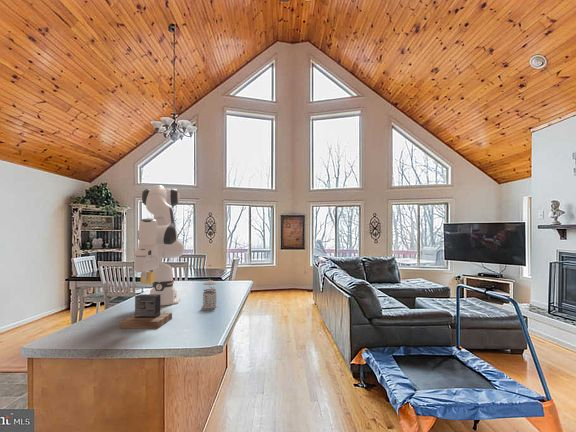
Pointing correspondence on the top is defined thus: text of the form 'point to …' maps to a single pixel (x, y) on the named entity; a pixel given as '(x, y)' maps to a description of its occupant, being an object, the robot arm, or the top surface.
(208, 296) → the french press
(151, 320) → the base board
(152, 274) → the mustard block
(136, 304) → the small box
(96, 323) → the top surface
